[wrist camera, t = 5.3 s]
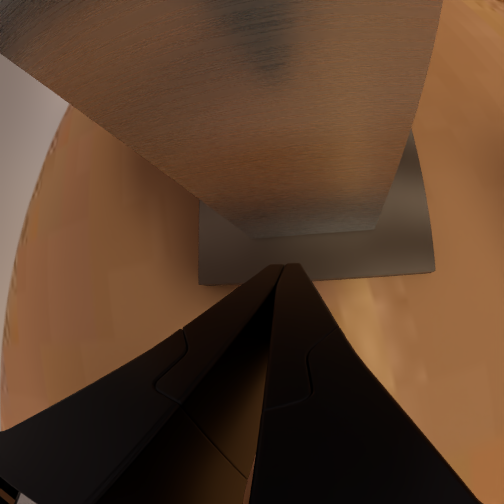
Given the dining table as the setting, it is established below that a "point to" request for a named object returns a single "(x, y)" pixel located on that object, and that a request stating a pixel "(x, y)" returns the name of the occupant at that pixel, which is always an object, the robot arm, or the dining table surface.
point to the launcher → (329, 240)
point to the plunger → (244, 95)
